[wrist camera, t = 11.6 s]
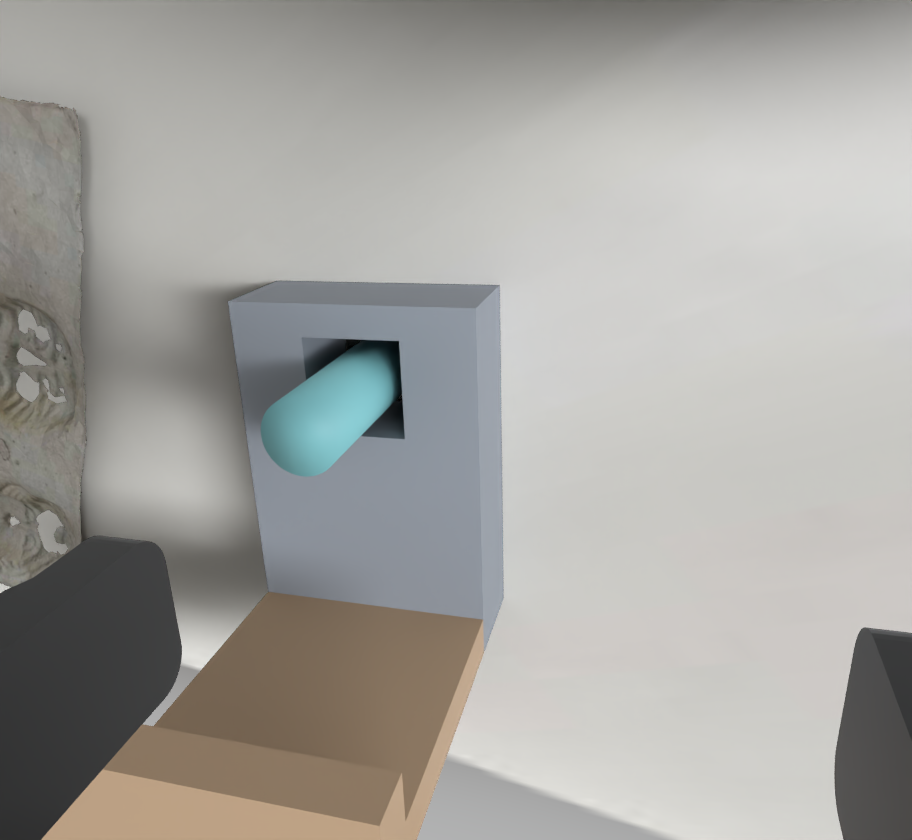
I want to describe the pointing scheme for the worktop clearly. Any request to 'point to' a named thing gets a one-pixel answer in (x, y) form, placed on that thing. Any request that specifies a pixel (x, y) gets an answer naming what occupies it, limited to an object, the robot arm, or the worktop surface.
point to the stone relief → (55, 308)
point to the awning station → (339, 591)
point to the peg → (332, 408)
